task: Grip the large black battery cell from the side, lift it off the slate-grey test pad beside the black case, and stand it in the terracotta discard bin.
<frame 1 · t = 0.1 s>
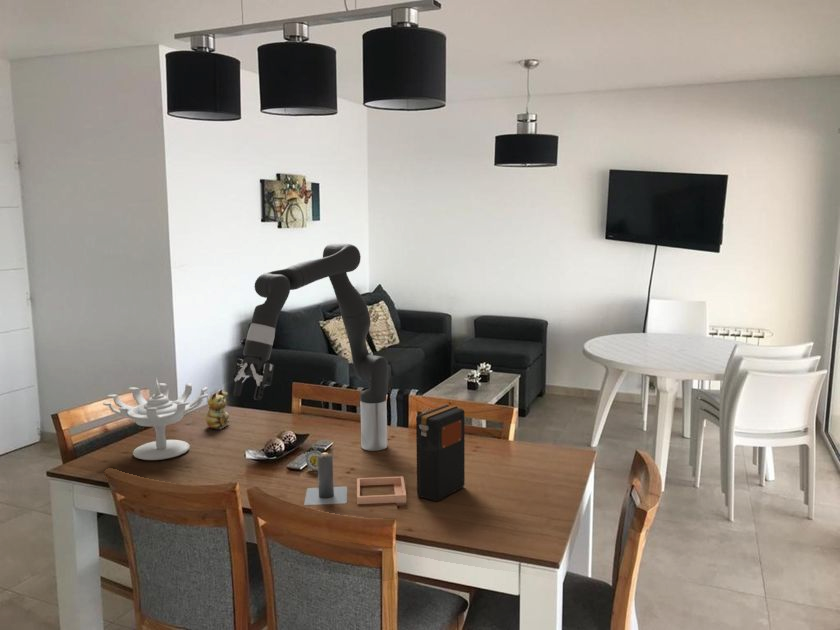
hand: (246, 397, 192), 31 cm above the table, tool tilted 20°, fingers open, 8 cm apart
black case: (441, 492, 203), on the table
decorative figurine: (217, 427, 267), on the table
pocket watch: (313, 476, 217), on the table
candelabra: (161, 453, 239), on the table
battery: (326, 495, 199), point 1 cm above the table, touching test pad
test pad: (326, 498, 199), on the table
discard bin: (381, 496, 201), on the table
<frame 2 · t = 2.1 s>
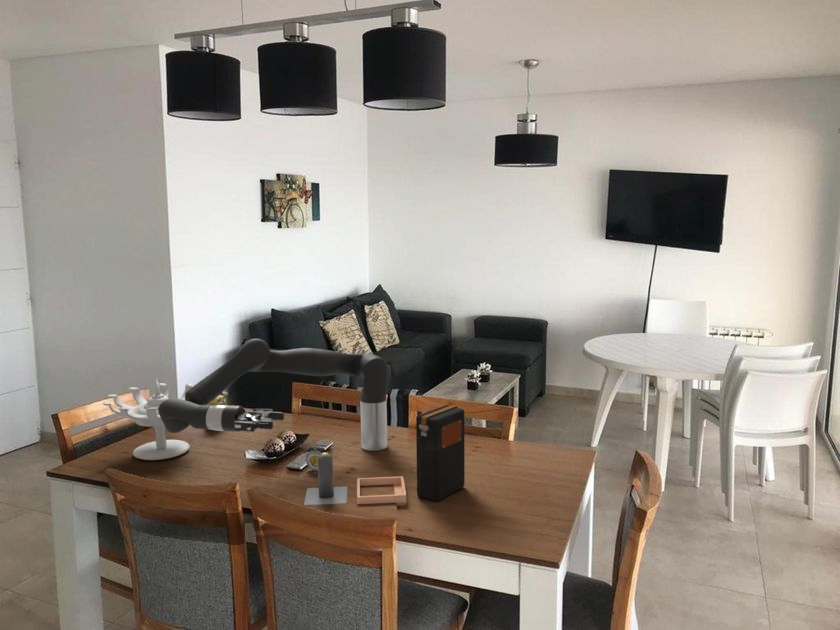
hand: (278, 420, 196), 24 cm above the table, tool horizontal, fingers open, 8 cm apart
nothing on the table moved.
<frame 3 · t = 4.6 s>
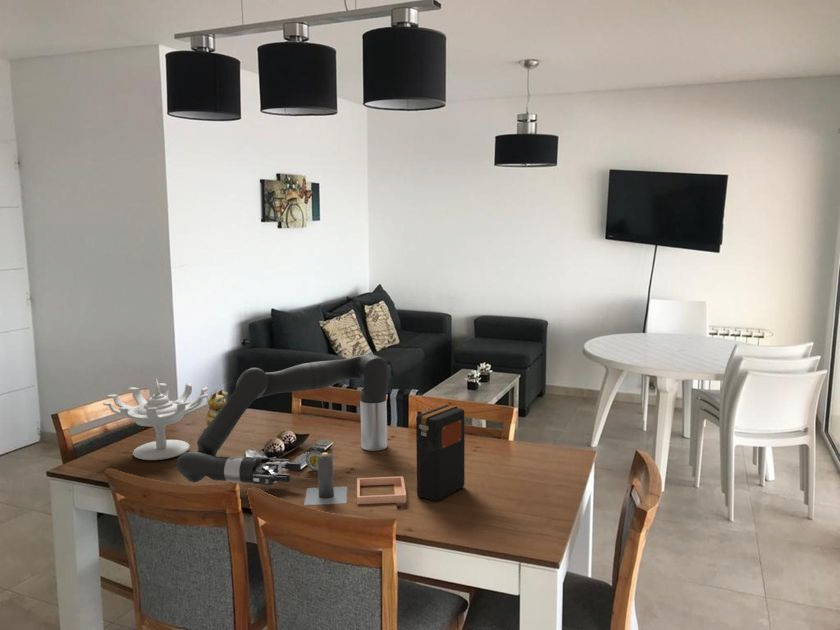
hand: (295, 472, 200), 7 cm above the table, tool horizontal, fingers open, 8 cm apart
nothing on the table moved.
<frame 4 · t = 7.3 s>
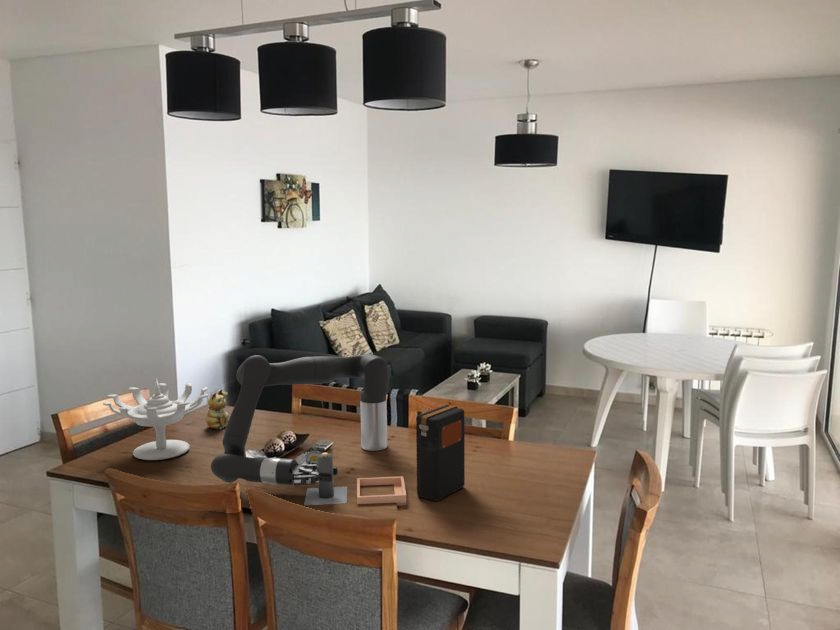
hand: (334, 474, 198), 8 cm above the table, tool horizontal, fingers closed on battery, 4 cm apart
battery: (326, 495, 199), point 1 cm above the table, touching gripper, test pad
everything else where it was.
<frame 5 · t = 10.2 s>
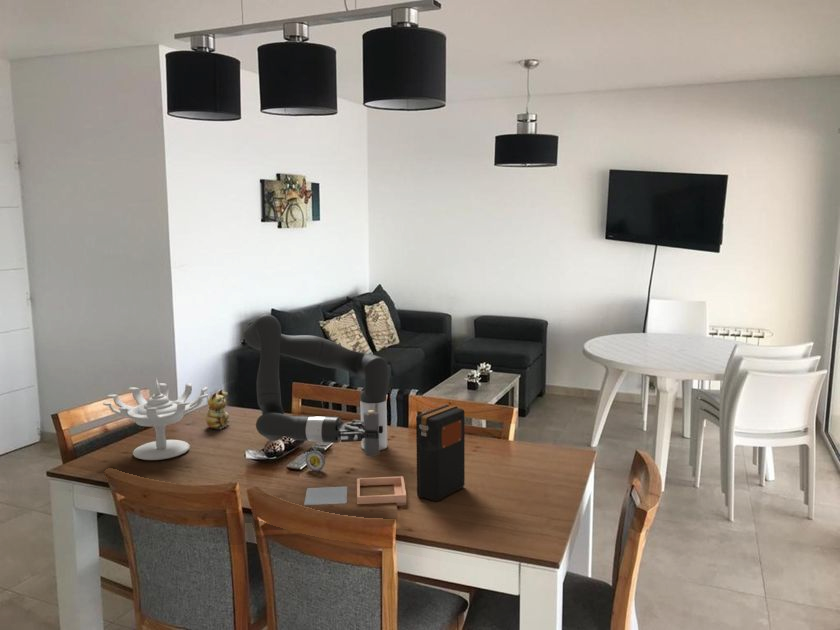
hand: (380, 432, 197), 20 cm above the table, tool horizontal, fingers closed on battery, 4 cm apart
battery: (371, 453, 198), point 13 cm above the table, touching gripper
everything else where it was.
when the fingers open (9 cm above the table, at t = 13.0 s): battery drops 1 cm, resting on discard bin.
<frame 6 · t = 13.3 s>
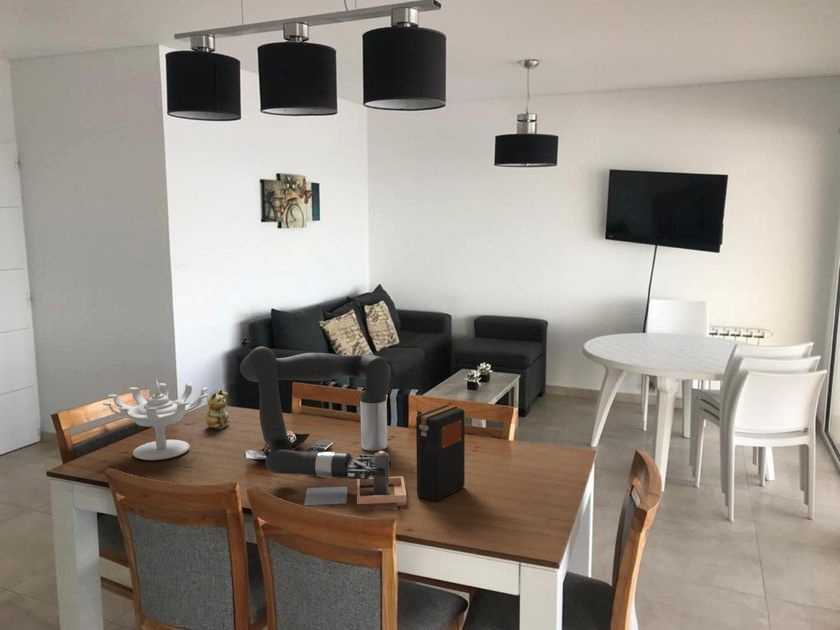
hand: (388, 467, 199), 9 cm above the table, tool horizontal, fingers open, 6 cm apart
battery: (380, 493, 200), point 1 cm above the table, touching discard bin
everything else where it was.
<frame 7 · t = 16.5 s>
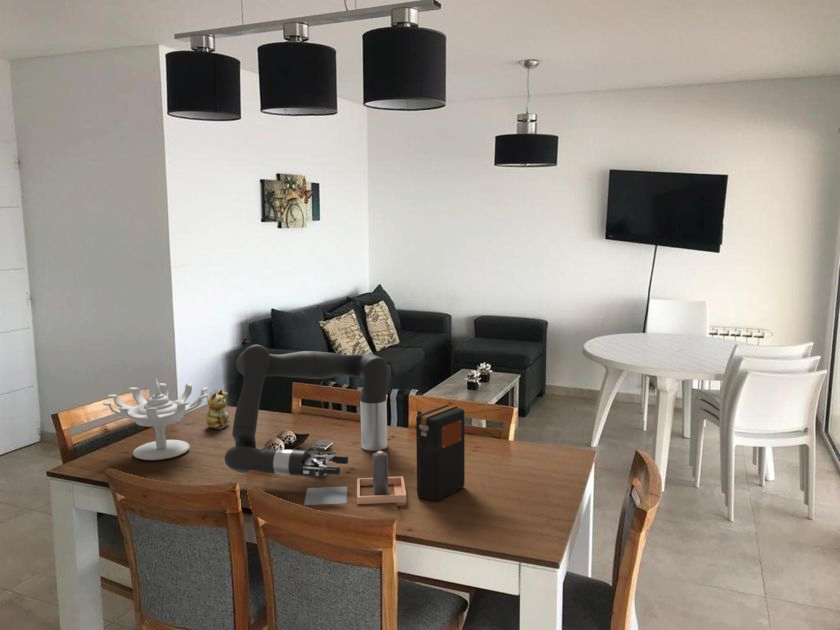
hand: (343, 465, 201), 9 cm above the table, tool horizontal, fingers open, 8 cm apart
nothing on the table moved.
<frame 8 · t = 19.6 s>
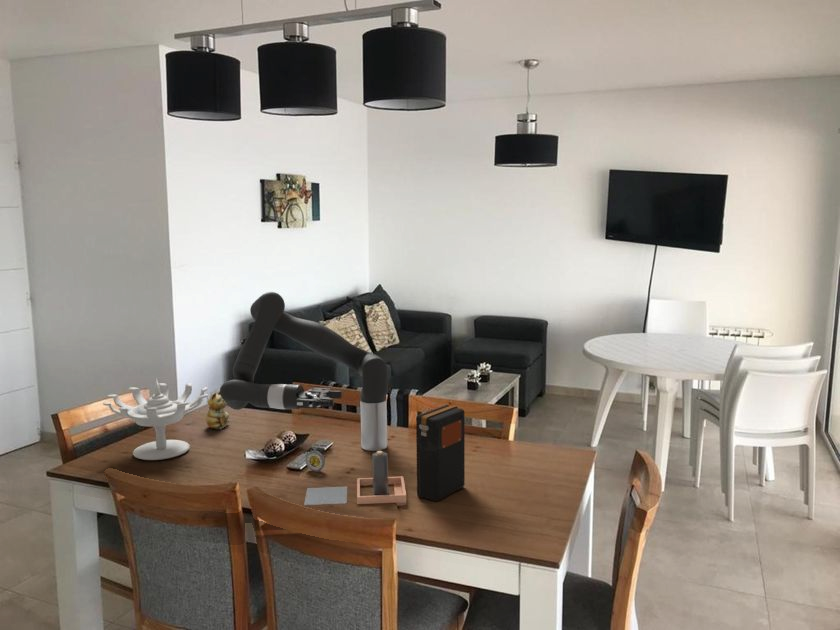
hand: (337, 398, 203), 28 cm above the table, tool horizontal, fingers open, 8 cm apart
nothing on the table moved.
at the end: battery inside the target area on the discard bin (0.1 cm from its centre), point 0.8 cm above the discard bin's base; battery tilted 0°; the gripper is holding nothing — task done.
